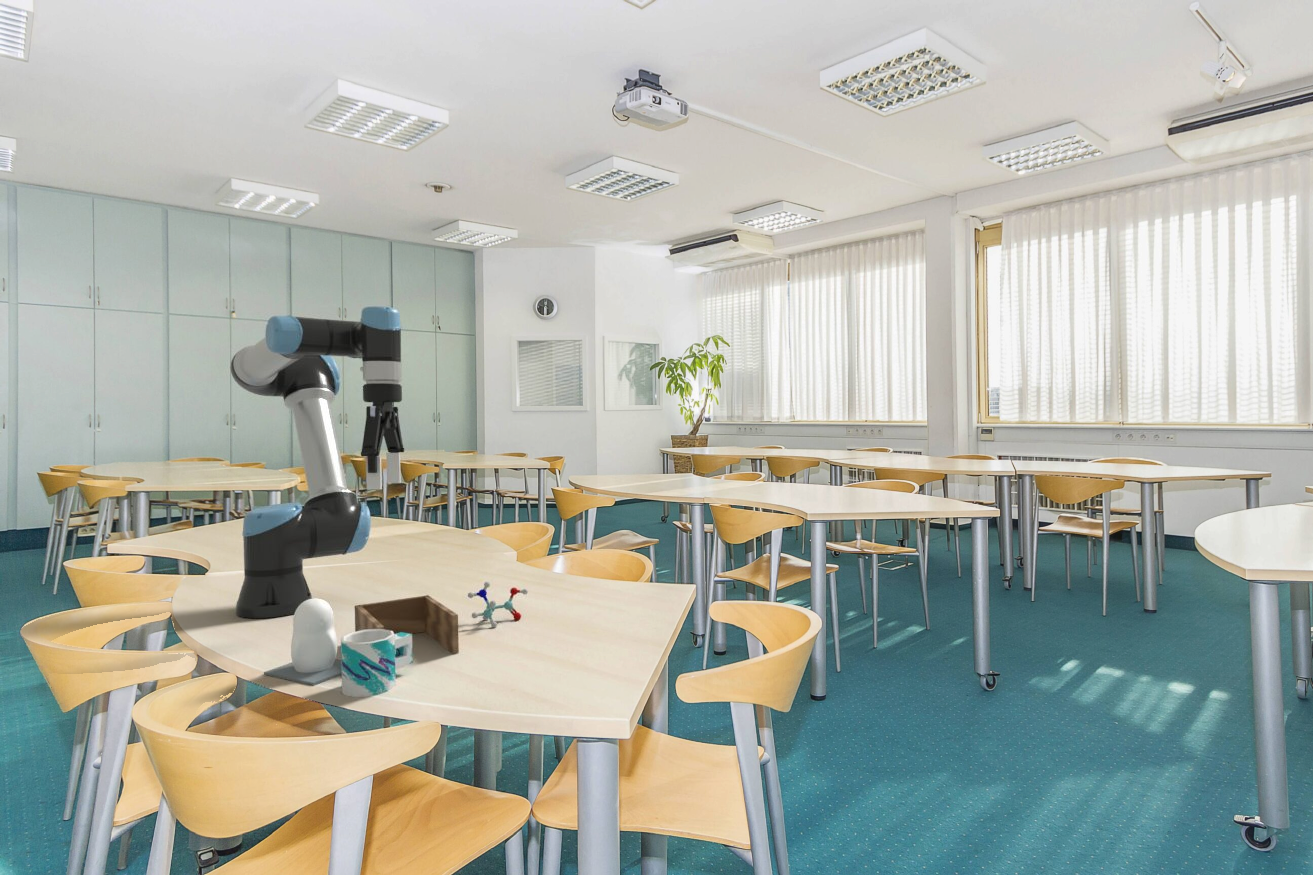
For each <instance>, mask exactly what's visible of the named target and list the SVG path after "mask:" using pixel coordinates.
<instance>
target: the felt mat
mask: <svg viewBox="0 0 1313 875" xmlns="http://www.w3.org/2000/svg"><path fill="white" fill-rule="evenodd" d="M263 675H265V676H269V677H274V678H279V679H283V680H287V681H291V682H297V683H300V684H301V683H302V684H304V685H309V686H310V685H311V686H316V685H318V684H321V683H323V682H326V681H328V680H331V679H333V678H337V677H339V676H342V673H341V658H340V659H339V658H335V661H334V664H333V666H332V667H330V668H328V669H326V670H322V671H318V672H311V673H302V672H297V671H296V670H295V668H294V665H293V662H292V661H291V662H289V663H287V664H283V665H280V666H278V667H275V668H274V667H273V668H272V669H270V670H269V669H268V670H265V671H263Z"/></svg>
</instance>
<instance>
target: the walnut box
mask: <svg viewBox="0 0 1313 875" xmlns="http://www.w3.org/2000/svg"><path fill="white" fill-rule="evenodd" d="M354 621H355V622H354V632H356V631H361V630H366V629H384V630H390V631H393V633H394V634H397V633H400V632H403V633H409V634H412V635H413V634H418V633H423V632H424V633H426V634H428V635H429V636H430V637H431V638H432V639H434V640H435V641H436V642H437V643H439V644H440V645H441V646H442V647H444V648H445V649H446V650H448V651H449V652H450V653H451V654H452V655H453V654H459V649H460V648H459V644H460V643H459V614H458V613H456V612H454V611H453V610H451V609H450V608H449V607H447V606H445V605H444V604H442V603H441V602H439V601H438V600H436V599H434V598H433V597H432V596H430V595H429V594H428V595H427V594H426V595H420V596H419V595H418V596H413V597H406V598H405V597H404V598H398V599H391V600H384V601H379V602H377V601H376V602H372V603H371V602H370V603H364V604H359V605H354Z"/></svg>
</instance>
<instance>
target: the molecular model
mask: <svg viewBox="0 0 1313 875" xmlns="http://www.w3.org/2000/svg"><path fill="white" fill-rule="evenodd" d="M483 584H484V585H483V588H481V589H480V590H479V591H478V592H473V591H470V592H468V594H467V597H468V598H469V599H472V598H473V597H476V596H477V597H478V596H479V598H483V600H484V601H485V604H486V608H485V609H484V611H483V612H476V611H475V612H472V613H471V618H472V619H477V618H478V617H482V620H483V621H488V620H489V621H490V626H491V627H492V628H493V629H494V628H497V627H498V623H497V621H495V620H494V618H493V612H495V610H497V609H505V610H506V611H509V613H510V614H511V615H512V616H513V619H514V620H515V621H519V620H520V619H521V618H522V614H521V613H520V612H518V611H517V610H516V609H515V607H513V606H514V604H513V602H512V601H513V598H514V596H516V595H517V594H523V595H527V594H528V592H529V590H528V589H527V588H523V589H518V588H517V587H514V586H513V587H511V588H510V592H509V593H510V596H509V599H508V600H507V601H505V602H504V604H501V605H497V602H496V600H491V601H489V599H488V597H487V594H488V593H487V589H488V588H489V587H491V583H490V582H489V581H485V582H484V583H483Z"/></svg>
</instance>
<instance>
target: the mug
mask: <svg viewBox="0 0 1313 875" xmlns="http://www.w3.org/2000/svg"><path fill="white" fill-rule="evenodd" d="M340 654H341V655H340V660H341V673H342V675H341V691H342V695H344V696H349V697H353V698H360V697H372V696H377V695H380V694H383V693H387V692H389V691H391V690H392V689H393V688H395V687H396V686H397V682H396V681H397V680H396V674H397V673H396V670H399V669H401V668H405V667H406V666H409V665H412V664H413V663H414V662H413V661H414V660H413V634H409V633H403V632H400V633H397V634H394V633H393V631H390V630H384V629H366V630H361V631H356V632H355V631H352V632H349V633H347V634H346V635H342V636H341V637H340Z"/></svg>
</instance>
